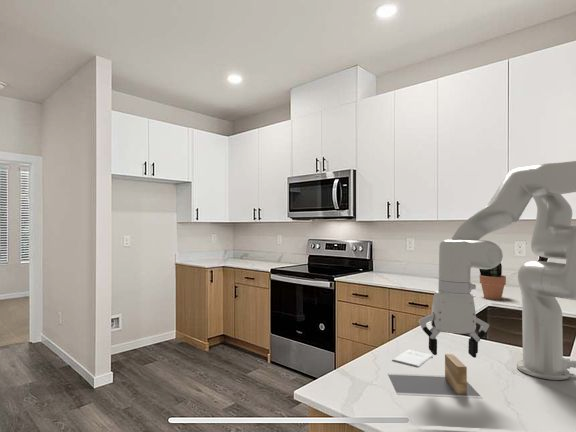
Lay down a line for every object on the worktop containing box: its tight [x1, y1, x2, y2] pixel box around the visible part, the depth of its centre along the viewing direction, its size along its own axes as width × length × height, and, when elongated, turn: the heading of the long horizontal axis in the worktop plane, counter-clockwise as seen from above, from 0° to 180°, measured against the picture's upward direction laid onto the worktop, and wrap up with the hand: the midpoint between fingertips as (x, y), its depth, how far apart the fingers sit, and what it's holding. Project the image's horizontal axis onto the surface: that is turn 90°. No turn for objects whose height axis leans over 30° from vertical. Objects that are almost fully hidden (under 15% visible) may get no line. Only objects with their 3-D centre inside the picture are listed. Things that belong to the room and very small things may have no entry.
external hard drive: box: [391, 349, 434, 368], centre depth 115 cm, size 2×8×12 cm
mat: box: [387, 372, 483, 399], centre depth 96 cm, size 20×13×1 cm, turn 85°
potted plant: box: [479, 263, 507, 301], centre depth 216 cm, size 14×14×25 cm
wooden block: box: [444, 353, 468, 394], centre depth 96 cm, size 2×9×6 cm, turn 175°
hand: (452, 354), depth 95 cm, fingers open, 9 cm apart
